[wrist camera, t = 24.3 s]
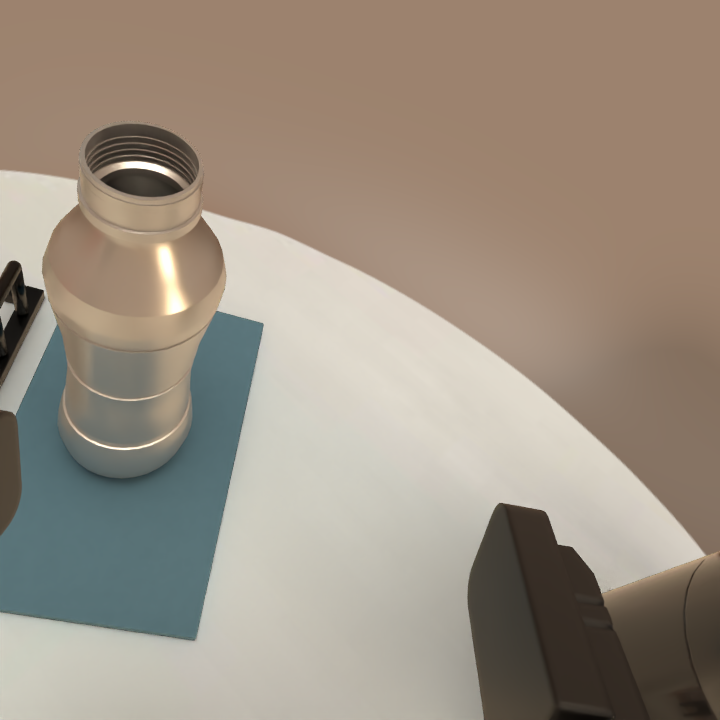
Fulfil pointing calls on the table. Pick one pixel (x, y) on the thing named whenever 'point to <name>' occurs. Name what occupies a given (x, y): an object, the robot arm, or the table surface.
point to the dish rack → (16, 314)
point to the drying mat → (126, 504)
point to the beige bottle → (132, 297)
